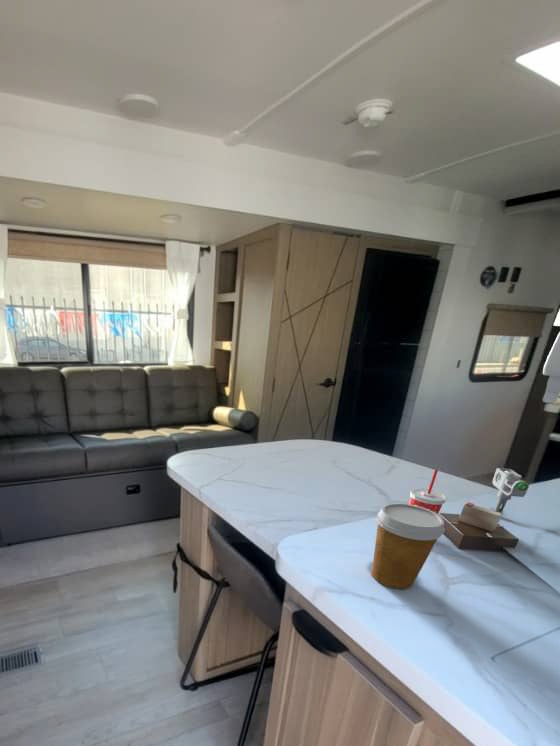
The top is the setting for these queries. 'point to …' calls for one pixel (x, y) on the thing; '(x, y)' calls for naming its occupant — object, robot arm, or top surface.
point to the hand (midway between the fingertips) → (555, 400)
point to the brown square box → (476, 535)
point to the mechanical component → (508, 486)
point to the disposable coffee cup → (404, 543)
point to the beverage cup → (428, 497)
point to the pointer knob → (480, 517)
